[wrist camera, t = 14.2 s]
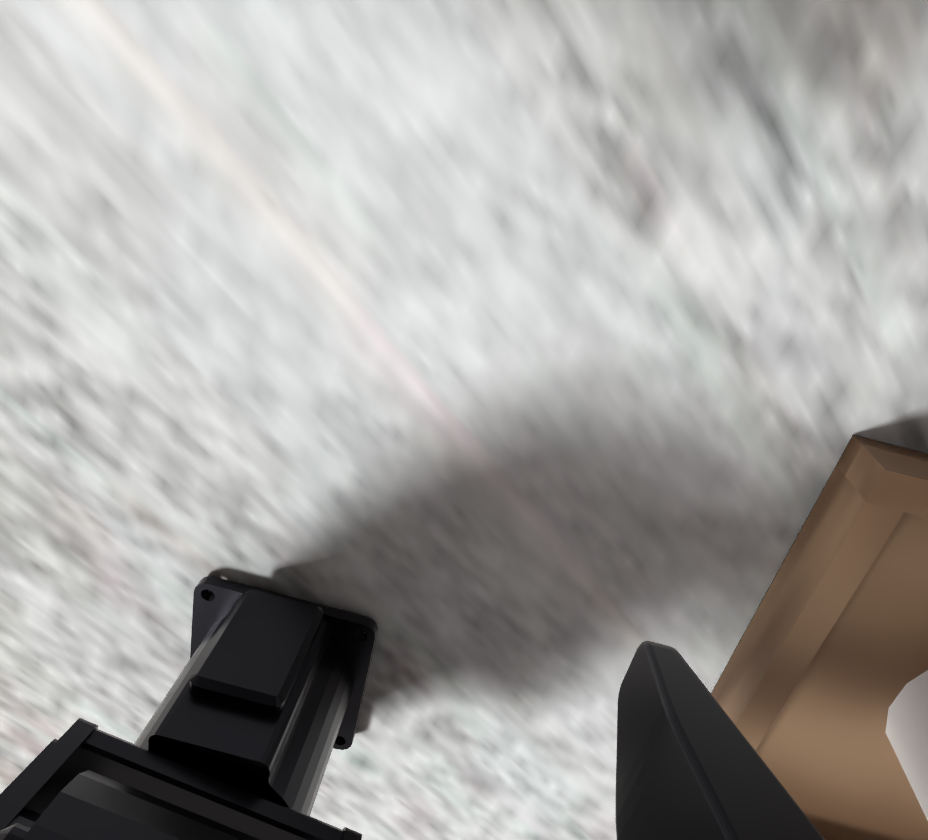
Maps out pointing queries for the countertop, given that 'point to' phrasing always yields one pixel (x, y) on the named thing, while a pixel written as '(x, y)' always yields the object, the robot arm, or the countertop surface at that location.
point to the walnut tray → (842, 648)
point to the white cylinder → (912, 735)
